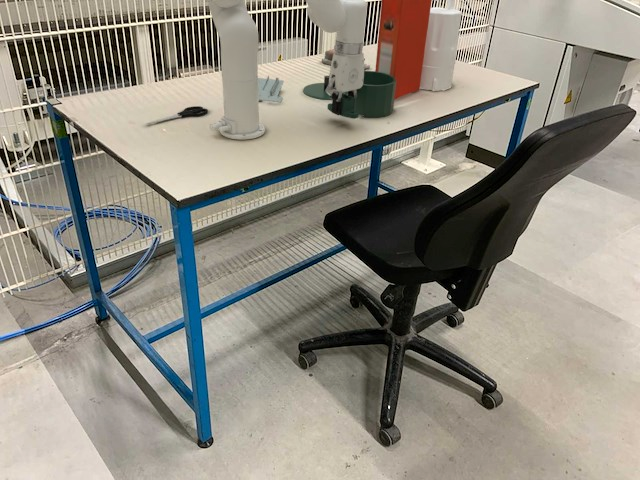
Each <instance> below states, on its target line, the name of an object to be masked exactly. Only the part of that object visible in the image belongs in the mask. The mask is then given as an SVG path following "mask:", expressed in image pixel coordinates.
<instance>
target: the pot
mask: <svg viewBox="0 0 640 480" xmlns="http://www.w3.org/2000/svg"><path fill="white" fill-rule="evenodd" d="M396 82H397V81H396V78H395V77H393V76H392V75H389V74H386V73H383V72H377V71H375V70H364V80H363V83H364V84H363V86H362V87H361V88H360V90H359V92H358V93H357V97H356V98H355V103H354V110H355V111H356V112H358V116H361V118H369V119H377V118H378V119H379V118H385V117H388V116H390V115H391V114H392V113H393V111H394V106H395V105H394V104H395V99H394V98H395V90H396ZM345 94H346V95H347V92H345ZM347 96H348V95H347Z"/></svg>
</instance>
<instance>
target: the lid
mask: <svg viewBox="0 0 640 480" xmlns="http://www.w3.org/2000/svg"><path fill="white" fill-rule="evenodd" d="M328 85H329V75H324V77H323V82H318V83H316V82H315V83H311V84H308V85H305V86H304V87H303V88H302V89H303V90H302V92H303V94H304V95H306V96H307V97H310V98H312V99H316V100H317V99H318V100H323V101H324V100H325V101H332V99H331V97H330V96H329V94H327V93H326V92H325V90H326V88H327V86H328ZM343 93H344V94H345V92H343ZM336 95H338V92H336Z"/></svg>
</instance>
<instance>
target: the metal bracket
mask: <svg viewBox="0 0 640 480" xmlns="http://www.w3.org/2000/svg"><path fill="white" fill-rule="evenodd" d="M284 82H285V81H284V80H282V79H280V78H279V77H275V79H273V78H272V79H271V78H270V75H267V77H266V78H262V77H258V98H259V102H272V103H282V100H284V99H283V96H279V94H280V91H281V89H282V87H283V85H284Z"/></svg>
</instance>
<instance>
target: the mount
mask: <svg viewBox="0 0 640 480" xmlns="http://www.w3.org/2000/svg"><path fill="white" fill-rule="evenodd" d="M346 97H347V95H346V94H344V93H342V96H341V100H340V101H341V102H342V105H341V114H340V115H339V116H340V117H344V118H348V119H353V120H354V119H359V115H358V112H356V111H355V110H353V106H354V97H352V96H348V99H347V98H346ZM327 110H328V111H330V112H331V111H332V102H331V103H327Z"/></svg>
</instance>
